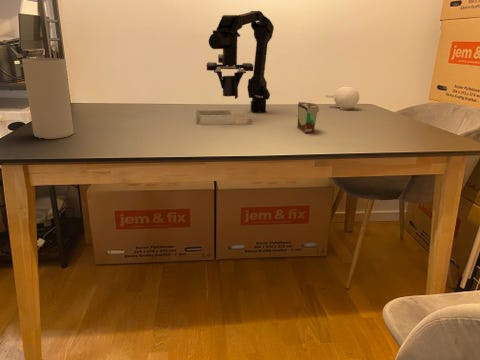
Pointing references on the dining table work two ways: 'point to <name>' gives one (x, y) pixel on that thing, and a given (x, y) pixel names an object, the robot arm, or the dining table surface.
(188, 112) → the dining table surface
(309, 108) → the food container
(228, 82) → the speaker
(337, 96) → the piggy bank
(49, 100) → the cylinder vase
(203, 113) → the beige shallow tray
